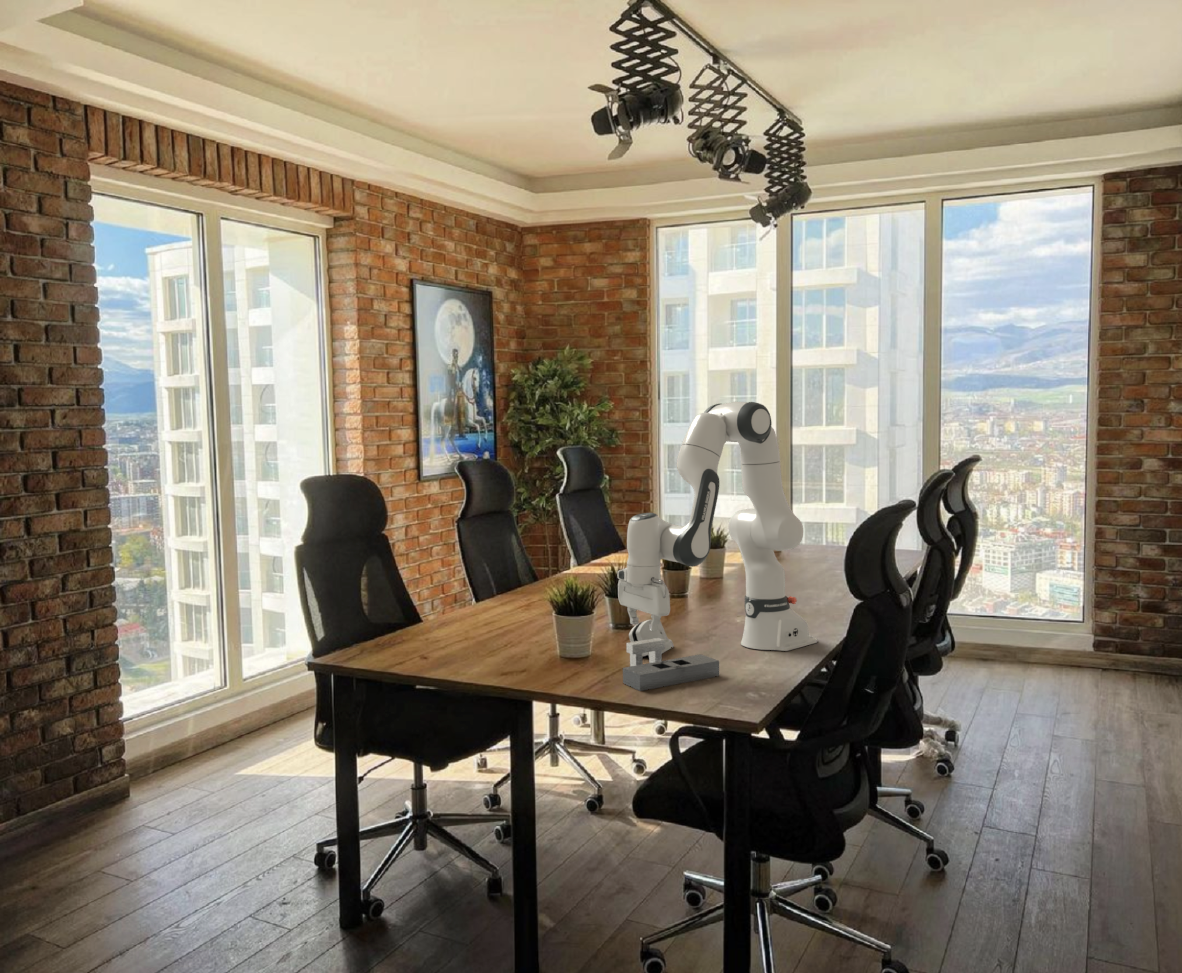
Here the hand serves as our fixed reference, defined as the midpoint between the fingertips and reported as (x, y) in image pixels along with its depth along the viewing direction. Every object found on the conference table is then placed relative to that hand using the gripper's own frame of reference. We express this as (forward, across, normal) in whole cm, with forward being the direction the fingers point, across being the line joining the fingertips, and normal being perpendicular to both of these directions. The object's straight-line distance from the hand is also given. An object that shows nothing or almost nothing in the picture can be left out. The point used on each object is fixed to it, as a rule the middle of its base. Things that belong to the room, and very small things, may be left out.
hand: (643, 627), depth 257 cm
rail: (+11, -12, -1) cm, 16 cm away
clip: (+11, 0, -1) cm, 11 cm away
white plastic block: (+12, +15, -12) cm, 23 cm away
